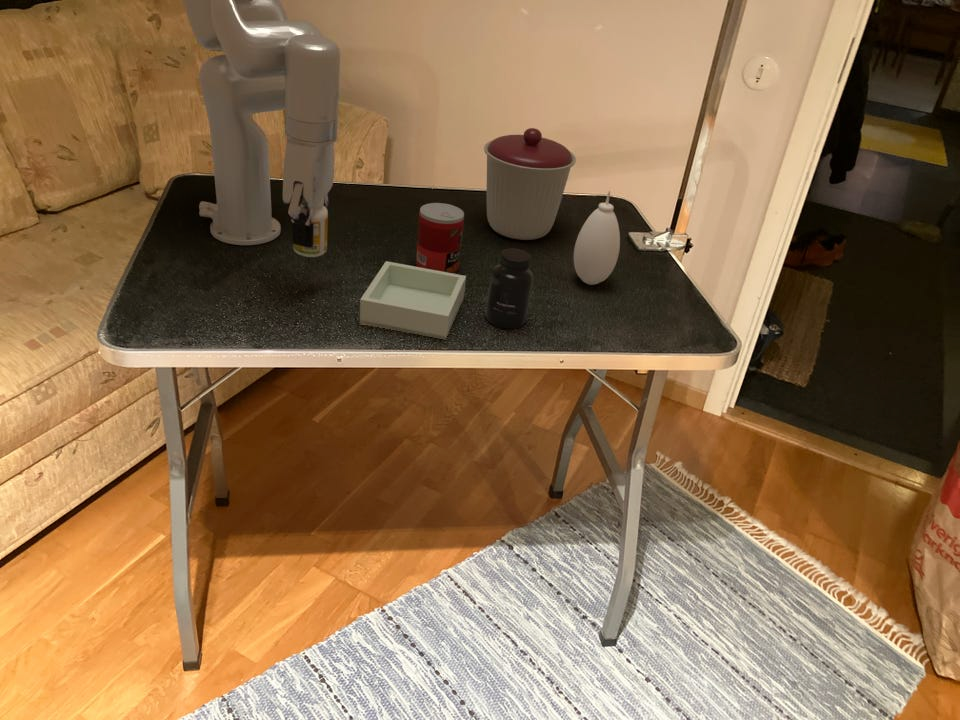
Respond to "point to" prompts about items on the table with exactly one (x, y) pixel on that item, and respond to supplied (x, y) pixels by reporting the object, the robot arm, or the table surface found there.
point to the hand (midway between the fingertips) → (310, 235)
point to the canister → (525, 183)
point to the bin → (413, 300)
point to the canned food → (439, 237)
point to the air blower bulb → (597, 245)
